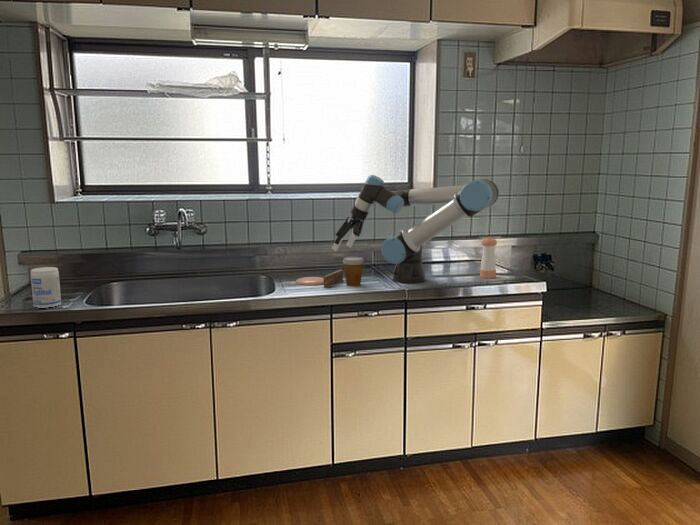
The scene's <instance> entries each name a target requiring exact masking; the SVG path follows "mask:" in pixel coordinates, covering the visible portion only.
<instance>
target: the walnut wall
mask: <svg viewBox="0 0 700 525" xmlns="http://www.w3.org/2000/svg"><path fill="white" fill-rule="evenodd" d="M323 278H324V284H323V288H325V289H327V288H330V287H331V286H335V285H336V284H338V283H340V281H341V282H343V281H344V270H343V269H338V270H336V271H334V272H331V273H329V274H325V275H323Z"/></svg>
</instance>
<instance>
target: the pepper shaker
mask: <svg viewBox="0 0 700 525" xmlns="http://www.w3.org/2000/svg"><path fill="white" fill-rule="evenodd" d="M497 244H498V242H497V240H496V239H495V238H492V236H487V237H486V238H483V239H482V240H481V245H482V256H481V261H480V269H479V277H480V278H482V279H495V278H496V276H497V270H496V264H497V263H496V245H497Z"/></svg>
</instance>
